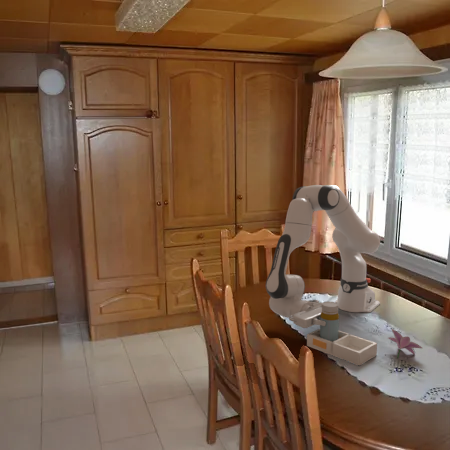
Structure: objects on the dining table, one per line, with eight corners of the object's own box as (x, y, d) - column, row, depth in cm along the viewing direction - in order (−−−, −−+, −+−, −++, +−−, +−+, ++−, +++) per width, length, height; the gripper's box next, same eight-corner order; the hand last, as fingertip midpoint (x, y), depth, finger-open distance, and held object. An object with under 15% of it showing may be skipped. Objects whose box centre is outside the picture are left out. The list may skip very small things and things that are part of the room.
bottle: (338, 345, 180) (339, 307, 178) (319, 343, 182) (320, 306, 179) (337, 337, 187) (339, 301, 184) (319, 336, 189) (320, 300, 186)
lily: (424, 365, 171) (429, 339, 173) (397, 356, 168) (402, 330, 170) (401, 361, 182) (406, 336, 184) (376, 353, 179) (381, 328, 181)
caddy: (325, 336, 193) (325, 325, 192) (376, 355, 176) (377, 343, 176) (306, 345, 185) (306, 334, 184) (358, 366, 168) (358, 353, 167)
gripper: (286, 310, 185) (315, 320, 175) (318, 298, 198) (346, 307, 188) (286, 326, 186) (314, 336, 176) (317, 312, 200) (346, 322, 190)
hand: (331, 321), depth 182 cm, fingers closed on bottle, 6 cm apart
